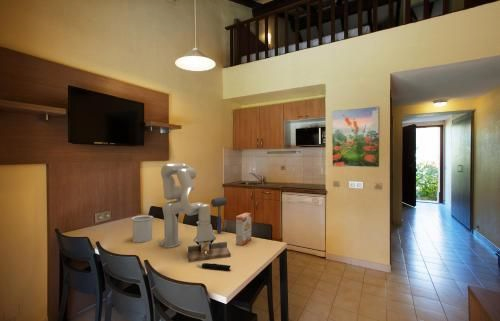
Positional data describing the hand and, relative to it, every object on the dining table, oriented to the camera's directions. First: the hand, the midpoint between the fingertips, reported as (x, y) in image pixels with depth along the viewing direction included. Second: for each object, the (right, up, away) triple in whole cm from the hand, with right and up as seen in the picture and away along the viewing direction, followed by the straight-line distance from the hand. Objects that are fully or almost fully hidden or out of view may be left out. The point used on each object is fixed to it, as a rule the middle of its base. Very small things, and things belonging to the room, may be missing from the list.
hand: (204, 250), depth 153 cm
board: (+3, -3, 0) cm, 4 cm away
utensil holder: (-55, -4, +30) cm, 63 cm away
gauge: (+1, -1, -2) cm, 3 cm away
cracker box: (+25, -3, +22) cm, 33 cm away
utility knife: (+8, -3, -19) cm, 21 cm away
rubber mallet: (+4, -3, +45) cm, 45 cm away
